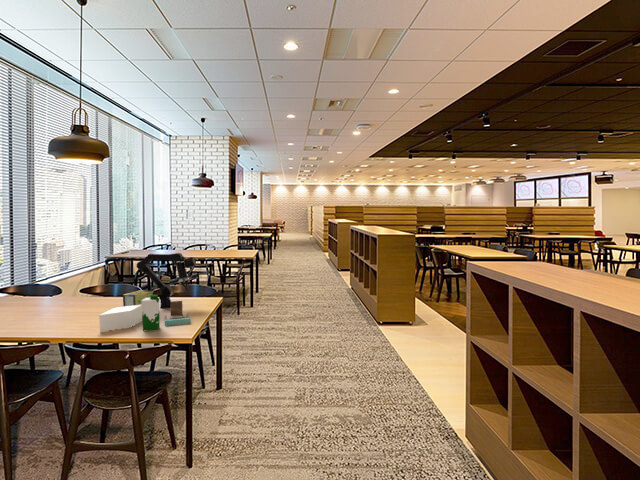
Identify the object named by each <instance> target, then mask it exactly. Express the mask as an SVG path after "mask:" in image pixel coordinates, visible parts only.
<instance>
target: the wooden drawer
mask: <svg viewBox="0 0 640 480" xmlns="http://www.w3.org/2000/svg"><path fill="white" fill-rule="evenodd" d="M183 313H184V312H183V300H173V301H172V300H171V301H170V314H169V315H170V316H169V319H168V320H173V319H183V318H184V314H183Z"/></svg>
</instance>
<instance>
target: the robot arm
mask: <svg viewBox="0 0 640 480" xmlns="http://www.w3.org/2000/svg"><path fill="white" fill-rule="evenodd" d="M153 260H161V261H162V260H164V261H165V260H167V261H171V262H174V263H173V264H172V266H173V267H176V271H177V274H178V275H176V278H173V279H170V280H169V283H168V284H165V283H164V281H162V280H161V278H160V277H159V276H158V275H157V274H156V273H155V272H154V271H153V269H152V268H151V266H150V263H151V262H152V261H153ZM196 262H197V261H196V260H195V258H194V257H193V256H192V257H191V256H190V257H189V258H186V257H185V256H184V255H183V253H181V252H175V253H149V254H147V255H146V257H144V258H143V259H141V260H140V261H138V262H137V263H136V268H137V269H138V270H139V271H140V272H142V273H145V274H146V276H148V277H149V279H150V280H151V281H152V282H153V283H154V284H155V285H156V286H157V287H158V289H159V291H160V293H161V294H160V295H159V296H158V297H159V304H160V306H159V309H166V308H167V309H168V308H170V309H171V307H170V301H172V300H171V296H173V294H174V290H173V289H174V288H173V287H172V286H174V285H176V284H177V283H178V284H179V285H181V286H182V287H183V289H184V291H186V292H188V287H189V286H188V284H189V283H190V280H197V279H198V278H199V277H198V274H197V273H194V274H191V275H190V276H188V272H187V269H190V268H194V267H196V266H197V263H196ZM186 268H187V269H186ZM184 282H185V283H184Z"/></svg>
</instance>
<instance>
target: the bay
mask: <svg viewBox="0 0 640 480" xmlns="http://www.w3.org/2000/svg"><path fill="white" fill-rule="evenodd" d="M185 315H186V317H183V319H173V320H169V319H168V317H167V315H164V326H165V327H167V326H176V325H177V326H178V325H186V324H191V318H190V315H189V313H186V314H185Z"/></svg>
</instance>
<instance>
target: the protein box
mask: <svg viewBox="0 0 640 480" xmlns="http://www.w3.org/2000/svg"><path fill="white" fill-rule="evenodd" d="M153 292H154V291H153V290H146V289H145V290H144V289H140V290H136V291H133V292H129V293H124V294H122V301H123V302H122V307H125V306H133V305H140V304H142V302H141V301H142V300H143V299H145V298H150V296H151V295H154V294H153Z"/></svg>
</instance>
